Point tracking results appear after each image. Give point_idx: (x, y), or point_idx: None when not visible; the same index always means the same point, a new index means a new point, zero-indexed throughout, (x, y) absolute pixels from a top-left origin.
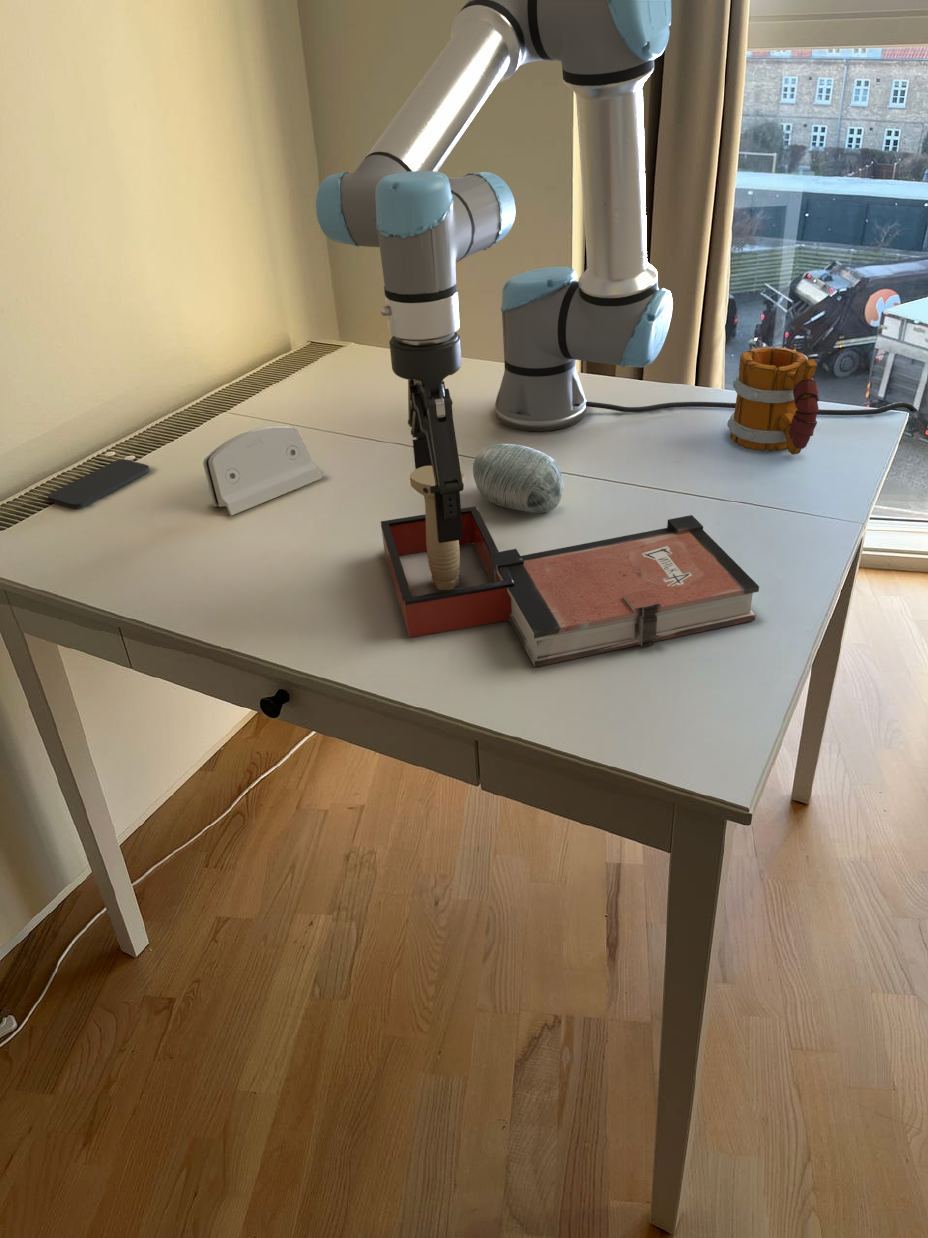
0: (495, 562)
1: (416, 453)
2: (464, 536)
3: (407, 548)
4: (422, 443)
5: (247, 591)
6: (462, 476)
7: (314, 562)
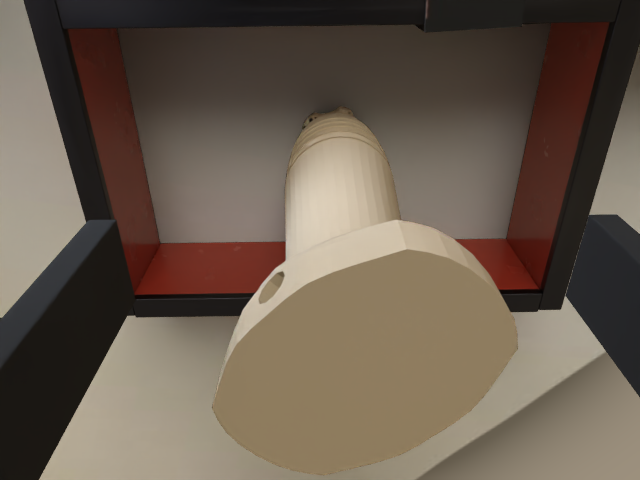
0: (492, 26)
1: (55, 434)
2: (107, 44)
3: (147, 213)
4: (11, 457)
5: (242, 469)
6: (432, 260)
7: (157, 381)
